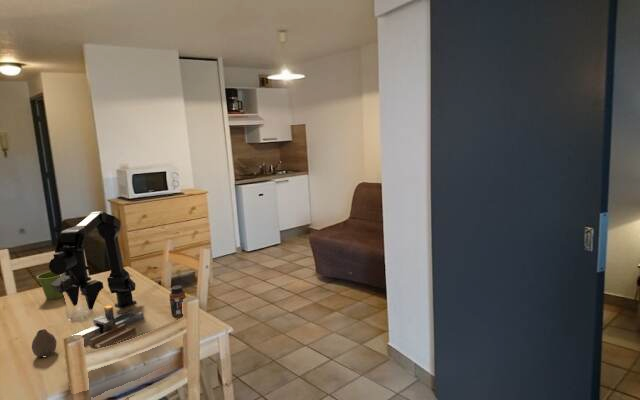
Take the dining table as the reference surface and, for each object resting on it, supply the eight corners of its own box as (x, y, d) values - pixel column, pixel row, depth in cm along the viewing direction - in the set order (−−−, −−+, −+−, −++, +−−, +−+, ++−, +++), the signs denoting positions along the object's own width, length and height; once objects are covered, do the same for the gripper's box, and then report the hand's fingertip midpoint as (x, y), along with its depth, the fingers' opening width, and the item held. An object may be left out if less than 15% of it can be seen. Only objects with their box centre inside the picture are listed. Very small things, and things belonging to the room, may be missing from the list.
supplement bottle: (182, 317, 162) (179, 290, 160) (168, 316, 163) (165, 289, 161) (189, 310, 167) (186, 284, 166) (176, 310, 169) (173, 284, 167)
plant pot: (75, 294, 192) (71, 271, 191) (48, 304, 183) (44, 280, 181) (62, 290, 199) (59, 268, 197) (35, 299, 189) (31, 276, 187)
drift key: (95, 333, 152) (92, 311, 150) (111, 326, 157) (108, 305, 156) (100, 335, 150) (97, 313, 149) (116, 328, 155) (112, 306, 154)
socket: (93, 331, 154) (91, 319, 153) (132, 314, 167) (130, 303, 166) (105, 336, 150) (103, 323, 149) (144, 318, 163) (142, 306, 162)
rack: (90, 345, 143) (89, 339, 143) (124, 329, 154) (123, 323, 154) (102, 350, 140) (101, 344, 139) (136, 333, 150) (135, 327, 150)
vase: (41, 350, 142) (37, 326, 141) (62, 348, 143) (57, 325, 141) (29, 361, 135) (24, 336, 134) (51, 359, 136) (46, 334, 134)
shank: (70, 345, 144) (69, 336, 144) (96, 334, 152) (94, 325, 151) (75, 348, 143) (74, 338, 142) (100, 336, 150) (99, 327, 150)
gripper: (37, 269, 141) (44, 312, 143) (68, 275, 132) (76, 321, 134) (69, 260, 150) (76, 300, 153) (101, 265, 141) (107, 307, 144)
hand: (83, 307), depth 146 cm, fingers open, 9 cm apart
